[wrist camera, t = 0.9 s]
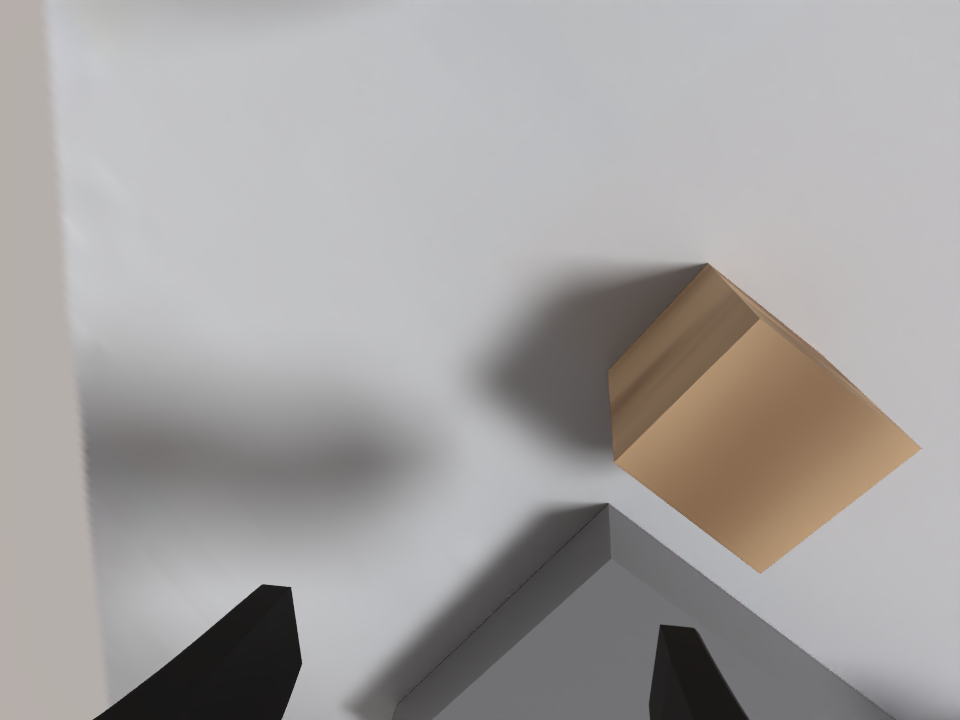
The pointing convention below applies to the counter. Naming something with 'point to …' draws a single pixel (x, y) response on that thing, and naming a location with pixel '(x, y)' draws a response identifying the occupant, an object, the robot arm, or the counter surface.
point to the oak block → (745, 423)
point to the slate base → (621, 643)
